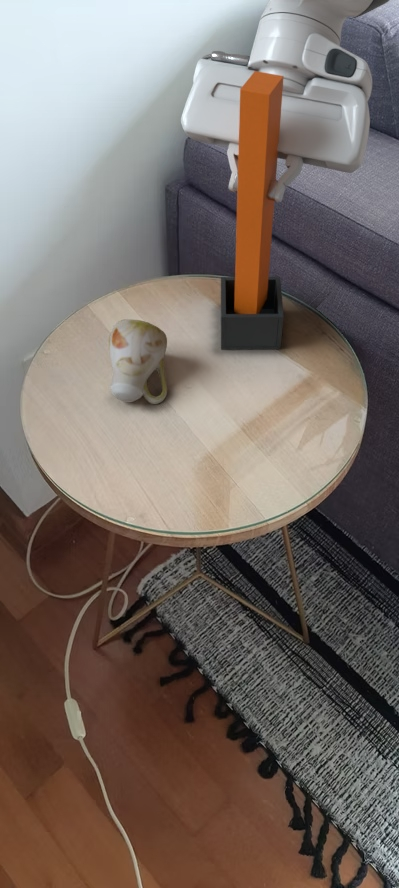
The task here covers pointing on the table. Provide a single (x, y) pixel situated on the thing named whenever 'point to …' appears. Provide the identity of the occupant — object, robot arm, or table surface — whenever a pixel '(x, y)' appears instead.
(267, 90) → the block
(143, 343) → the mug
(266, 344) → the bin
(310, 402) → the table surface
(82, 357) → the table surface
